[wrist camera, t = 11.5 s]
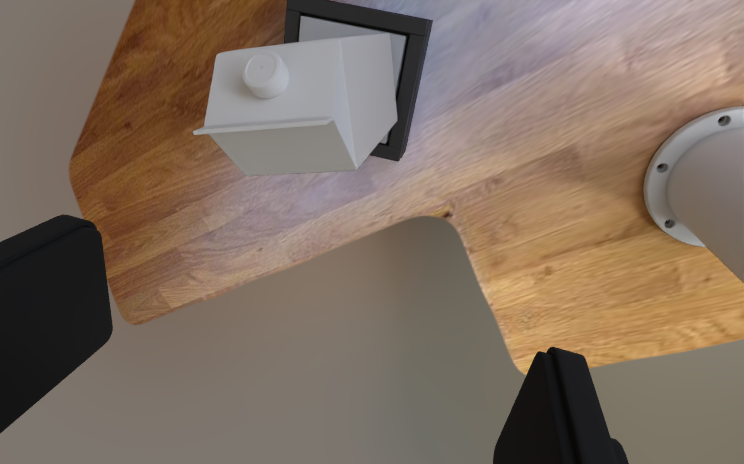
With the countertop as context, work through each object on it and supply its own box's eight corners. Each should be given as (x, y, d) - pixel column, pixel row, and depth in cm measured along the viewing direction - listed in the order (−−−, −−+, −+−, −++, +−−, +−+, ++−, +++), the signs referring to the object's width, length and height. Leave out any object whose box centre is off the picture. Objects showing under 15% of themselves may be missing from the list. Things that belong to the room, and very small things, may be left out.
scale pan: (408, 36, 37) (405, 36, 36) (388, 140, 41) (385, 144, 40) (306, 16, 38) (300, 15, 37) (297, 119, 42) (291, 122, 41)
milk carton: (398, 120, 39) (337, 194, 22) (321, 126, 40) (210, 199, 24) (390, 32, 36) (314, 39, 19) (308, 42, 38) (171, 57, 21)
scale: (432, 20, 39) (428, 19, 35) (405, 151, 44) (399, 162, 41) (303, -5, 40) (286, -8, 37) (292, 125, 46) (276, 134, 42)
